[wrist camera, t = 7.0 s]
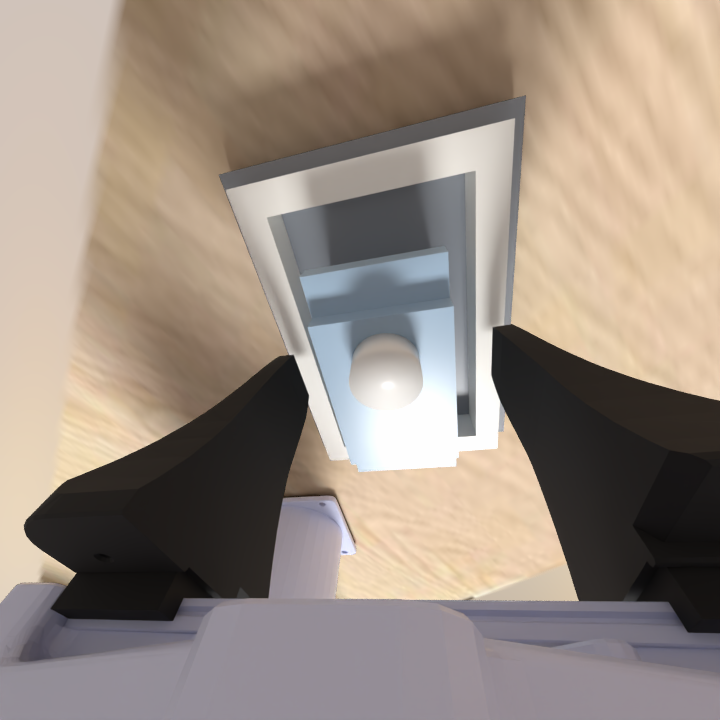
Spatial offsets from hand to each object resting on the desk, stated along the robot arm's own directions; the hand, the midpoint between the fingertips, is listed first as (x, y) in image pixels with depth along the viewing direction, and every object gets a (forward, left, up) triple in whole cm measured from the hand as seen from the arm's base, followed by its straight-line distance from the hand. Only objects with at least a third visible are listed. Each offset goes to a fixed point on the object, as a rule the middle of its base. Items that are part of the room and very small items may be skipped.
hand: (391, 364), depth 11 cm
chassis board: (0, 0, -4) cm, 4 cm away
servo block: (0, 0, -3) cm, 3 cm away
